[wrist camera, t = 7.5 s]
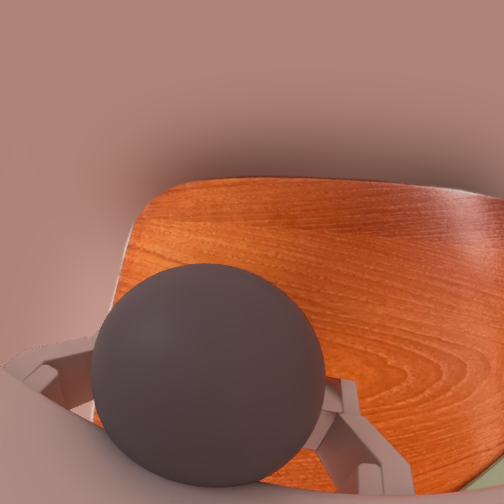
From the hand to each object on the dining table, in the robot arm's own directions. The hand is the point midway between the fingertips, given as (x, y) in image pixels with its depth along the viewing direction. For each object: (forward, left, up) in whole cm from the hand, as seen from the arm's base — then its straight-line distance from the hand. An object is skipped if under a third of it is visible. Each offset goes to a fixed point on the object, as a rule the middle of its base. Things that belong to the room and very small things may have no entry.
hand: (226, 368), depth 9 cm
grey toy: (0, -1, -6) cm, 6 cm away
